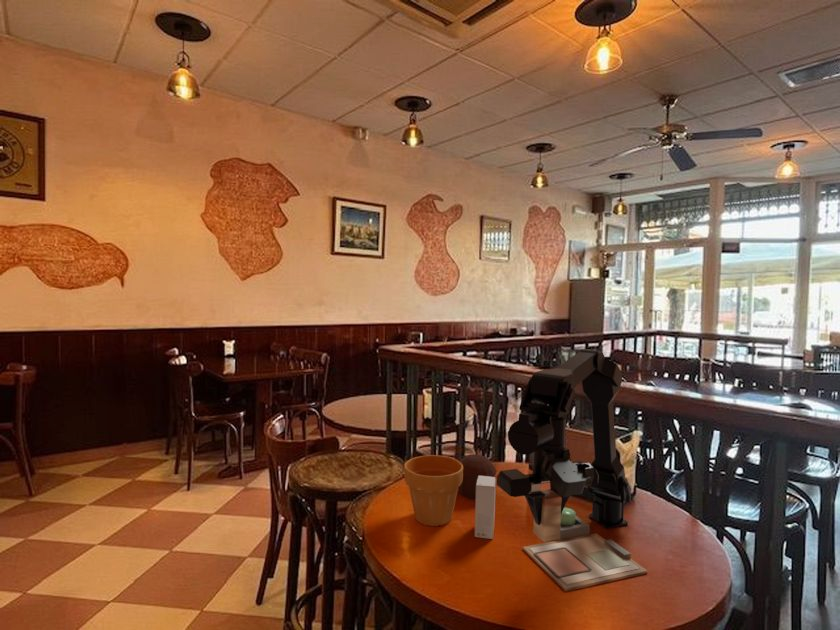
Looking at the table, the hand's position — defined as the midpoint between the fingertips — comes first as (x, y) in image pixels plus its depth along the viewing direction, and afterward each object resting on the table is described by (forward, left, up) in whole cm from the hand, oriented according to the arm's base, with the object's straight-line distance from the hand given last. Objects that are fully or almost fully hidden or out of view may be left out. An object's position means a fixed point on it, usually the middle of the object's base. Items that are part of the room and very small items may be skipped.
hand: (546, 522), depth 89 cm
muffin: (-5, -41, -12) cm, 43 cm away
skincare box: (+2, -21, -12) cm, 24 cm away
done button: (-16, -16, -10) cm, 25 cm away
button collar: (-16, -16, -12) cm, 25 cm away
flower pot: (+11, -31, -12) cm, 35 cm away
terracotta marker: (0, 0, -3) cm, 3 cm away
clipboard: (-12, -4, -12) cm, 17 cm away
